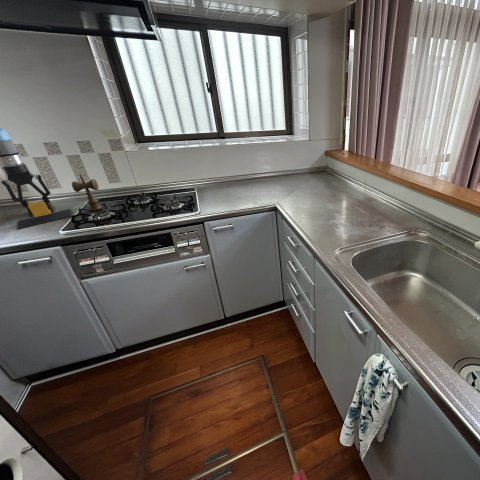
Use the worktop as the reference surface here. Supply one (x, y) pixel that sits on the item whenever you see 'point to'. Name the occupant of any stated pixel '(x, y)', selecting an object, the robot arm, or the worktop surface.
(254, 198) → the worktop surface
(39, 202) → the mustard cube
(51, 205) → the walnut block
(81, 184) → the kendama
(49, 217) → the rubber mat
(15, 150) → the robot arm
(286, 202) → the worktop surface
